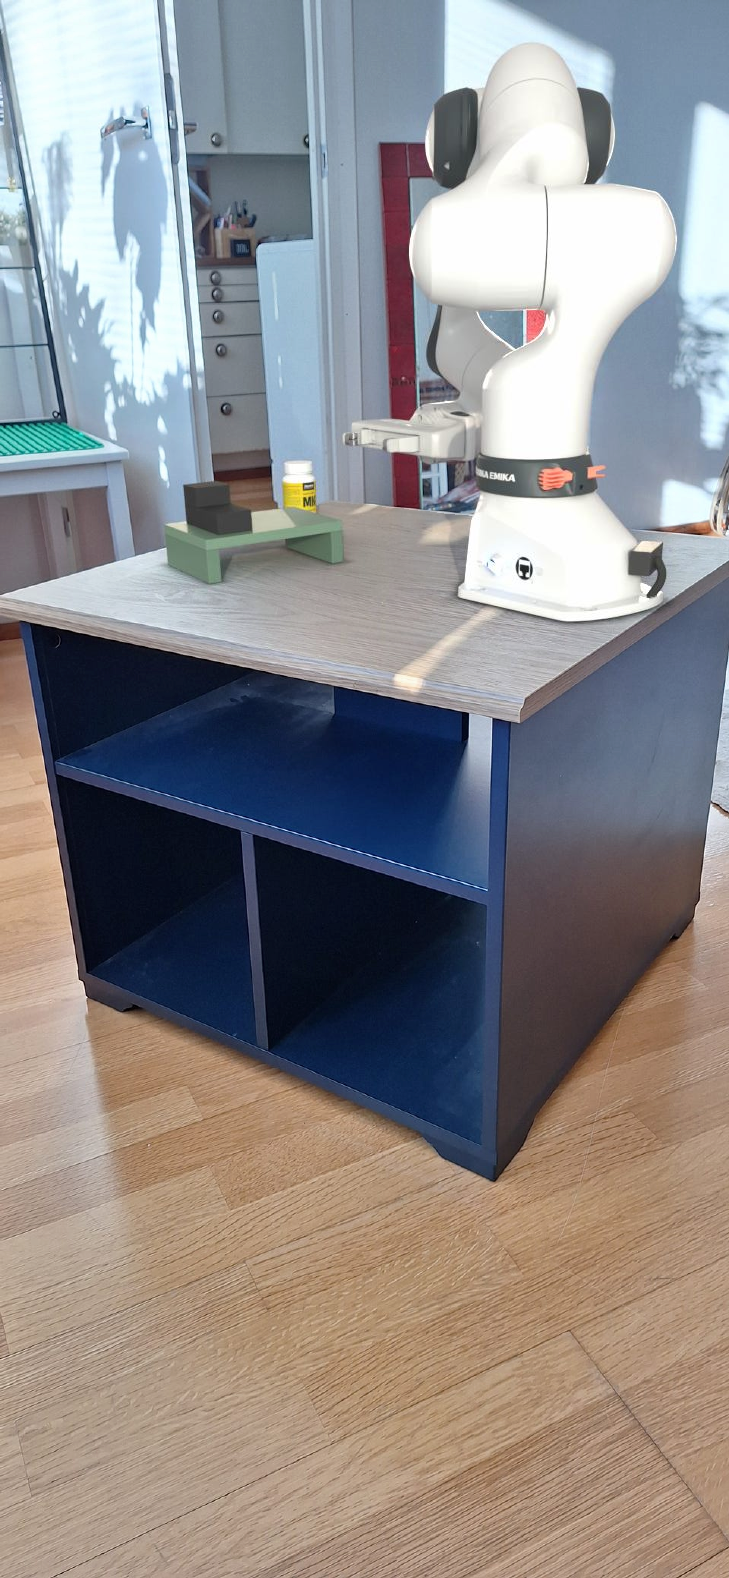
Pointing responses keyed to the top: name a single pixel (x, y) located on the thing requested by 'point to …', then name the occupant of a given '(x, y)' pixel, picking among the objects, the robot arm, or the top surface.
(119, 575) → the top surface
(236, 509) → the dark stepped block
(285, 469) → the supplement bottle
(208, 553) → the block
